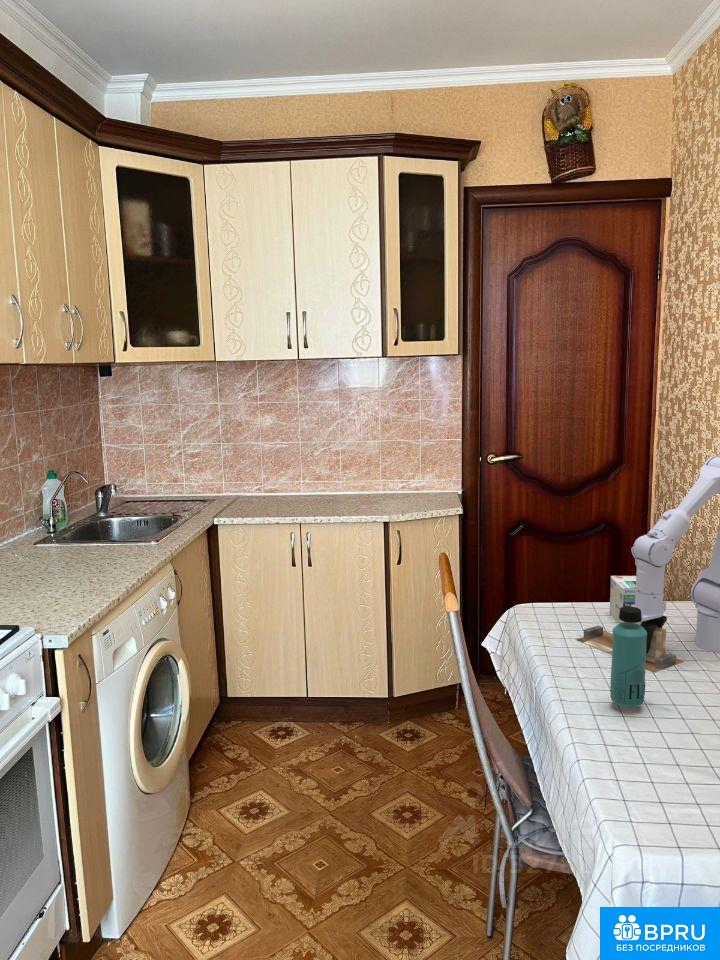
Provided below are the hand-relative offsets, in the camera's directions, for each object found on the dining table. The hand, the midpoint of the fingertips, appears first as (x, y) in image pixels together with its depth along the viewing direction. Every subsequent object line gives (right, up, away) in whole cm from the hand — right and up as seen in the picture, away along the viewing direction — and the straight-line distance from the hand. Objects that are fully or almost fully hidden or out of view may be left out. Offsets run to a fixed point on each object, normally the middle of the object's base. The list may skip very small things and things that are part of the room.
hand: (646, 649), depth 169 cm
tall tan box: (0, -2, 0) cm, 2 cm away
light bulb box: (+4, +1, +24) cm, 24 cm away
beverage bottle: (-12, -7, -20) cm, 24 cm away
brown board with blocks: (-3, -2, +5) cm, 6 cm away
